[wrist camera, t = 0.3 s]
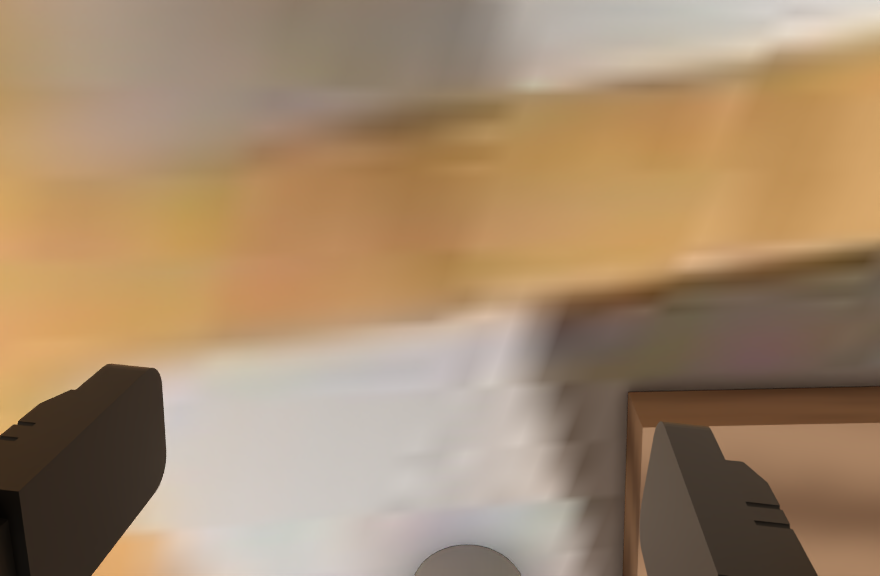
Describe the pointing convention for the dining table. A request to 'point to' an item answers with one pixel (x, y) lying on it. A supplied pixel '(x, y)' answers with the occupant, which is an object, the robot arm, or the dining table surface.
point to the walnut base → (780, 463)
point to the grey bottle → (467, 563)
